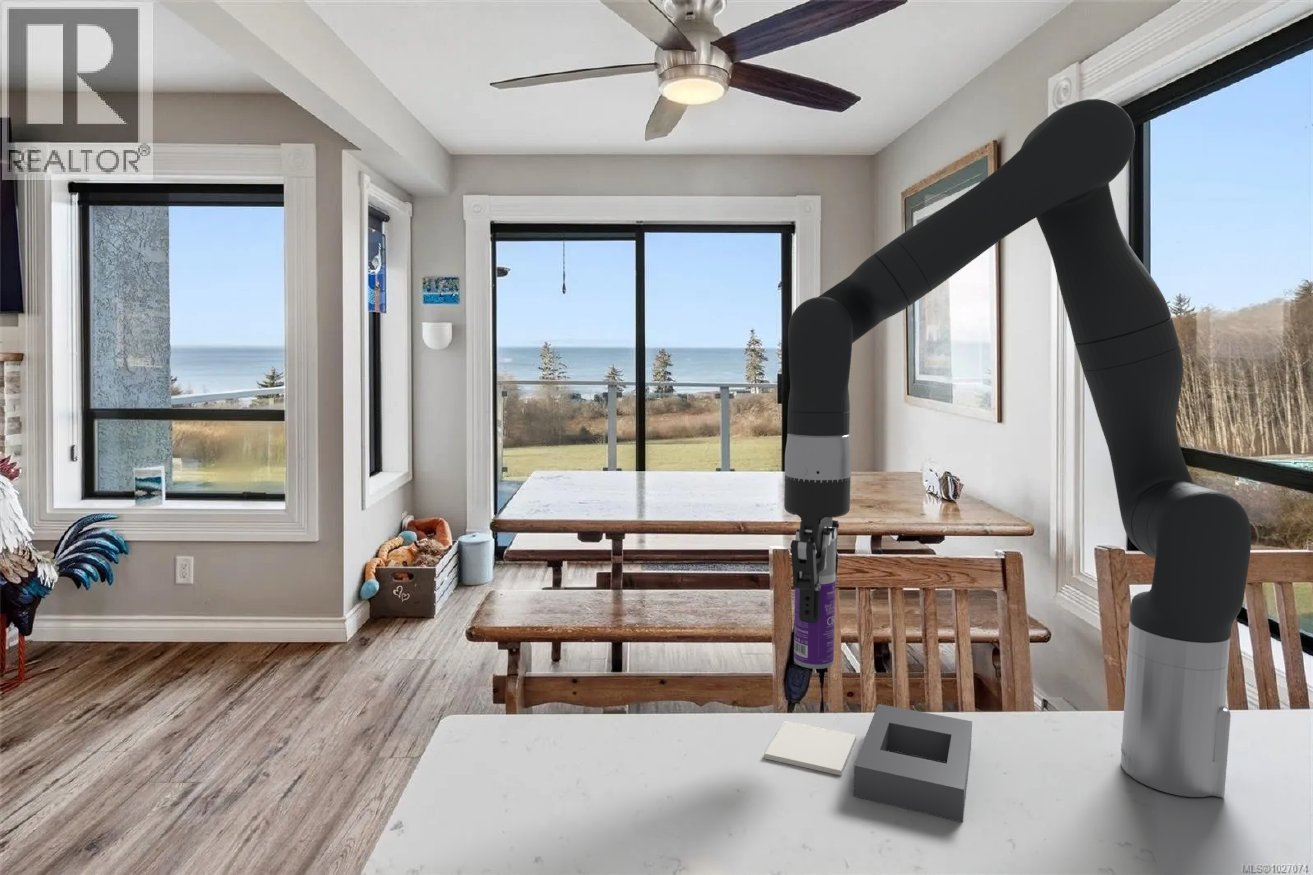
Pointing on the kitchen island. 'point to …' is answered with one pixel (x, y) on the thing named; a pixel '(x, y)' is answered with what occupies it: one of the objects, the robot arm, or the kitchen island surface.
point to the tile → (811, 747)
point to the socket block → (915, 762)
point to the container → (817, 637)
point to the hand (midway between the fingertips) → (814, 613)
